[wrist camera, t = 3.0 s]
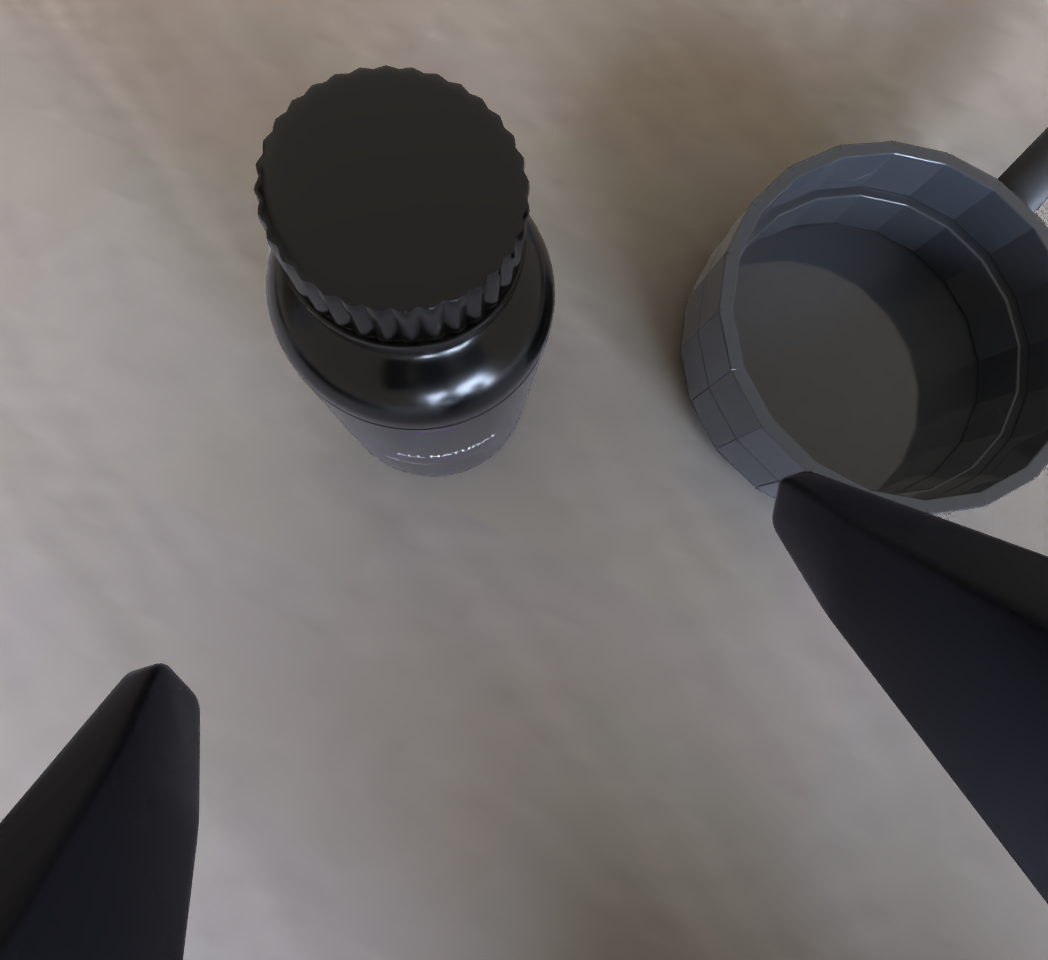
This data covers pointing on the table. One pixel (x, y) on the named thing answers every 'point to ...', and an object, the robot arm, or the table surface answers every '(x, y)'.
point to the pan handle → (1030, 174)
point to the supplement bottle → (405, 264)
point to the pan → (878, 330)
